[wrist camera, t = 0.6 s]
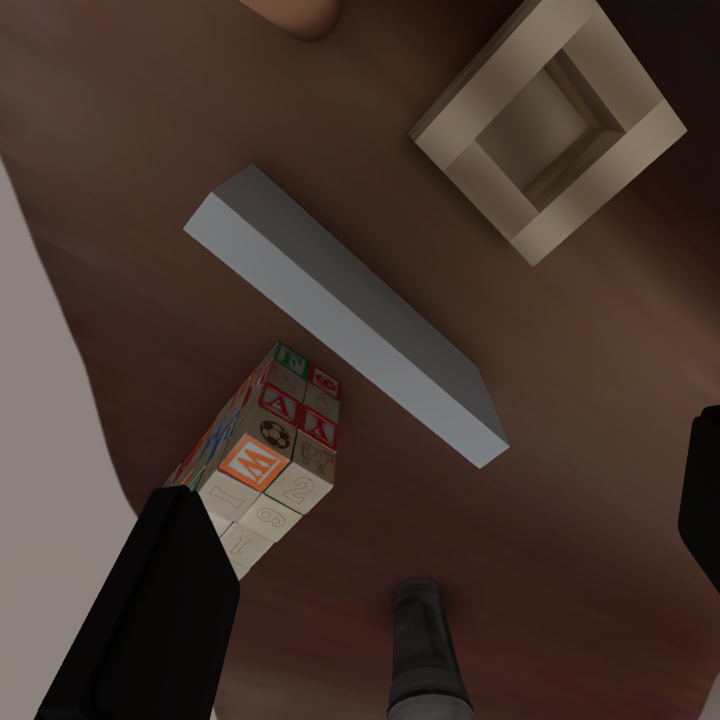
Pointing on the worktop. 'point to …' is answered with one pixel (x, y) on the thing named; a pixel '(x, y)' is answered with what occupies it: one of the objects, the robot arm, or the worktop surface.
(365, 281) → the backstop wall
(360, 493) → the worktop surface
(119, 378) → the worktop surface
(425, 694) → the beverage cup
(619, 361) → the worktop surface
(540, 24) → the socket block
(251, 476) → the stack of blocks
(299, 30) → the dowel
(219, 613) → the robot arm
